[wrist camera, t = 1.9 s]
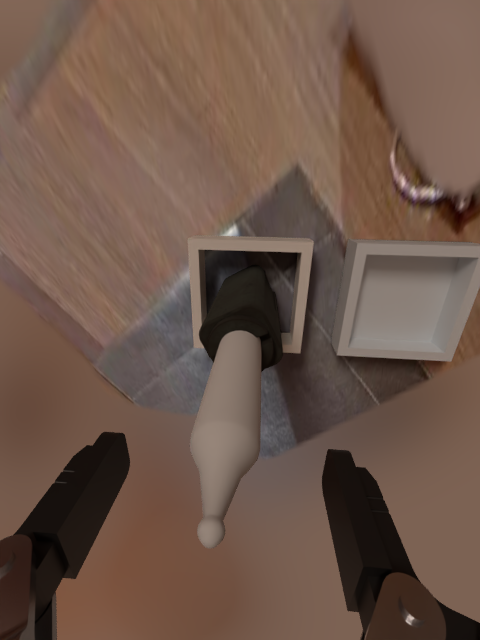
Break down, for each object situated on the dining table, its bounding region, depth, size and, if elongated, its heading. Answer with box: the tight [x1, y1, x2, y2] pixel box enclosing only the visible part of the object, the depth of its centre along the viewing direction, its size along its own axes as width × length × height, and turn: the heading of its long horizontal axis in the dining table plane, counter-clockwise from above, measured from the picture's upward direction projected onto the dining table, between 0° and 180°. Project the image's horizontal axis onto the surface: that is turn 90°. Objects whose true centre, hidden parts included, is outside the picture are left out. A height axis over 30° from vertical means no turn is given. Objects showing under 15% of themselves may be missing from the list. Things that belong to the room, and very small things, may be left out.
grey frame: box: [188, 235, 314, 353], centre depth 29 cm, size 12×12×3 cm
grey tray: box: [331, 239, 480, 361], centre depth 28 cm, size 12×12×3 cm
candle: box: [190, 265, 283, 548], centre depth 19 cm, size 5×5×25 cm
